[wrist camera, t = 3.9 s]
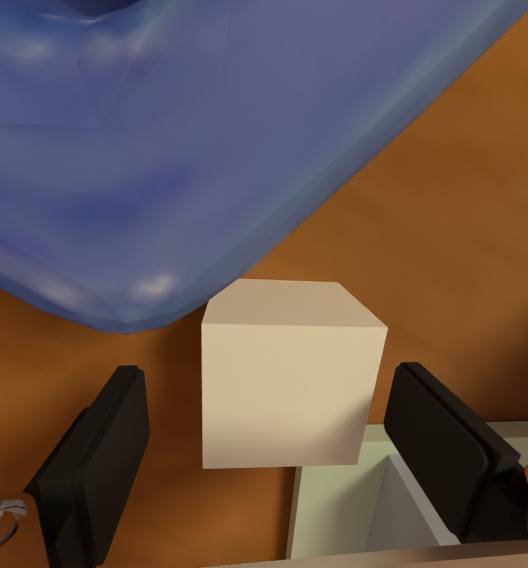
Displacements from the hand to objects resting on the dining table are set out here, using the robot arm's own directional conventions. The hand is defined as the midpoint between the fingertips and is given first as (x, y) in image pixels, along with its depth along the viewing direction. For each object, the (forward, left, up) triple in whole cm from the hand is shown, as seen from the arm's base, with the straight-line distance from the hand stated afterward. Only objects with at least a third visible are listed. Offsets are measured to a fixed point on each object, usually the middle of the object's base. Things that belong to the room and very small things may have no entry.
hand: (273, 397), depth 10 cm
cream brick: (0, +1, -5) cm, 5 cm away
